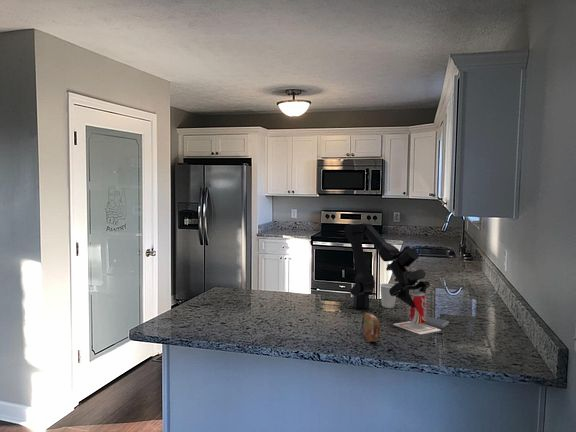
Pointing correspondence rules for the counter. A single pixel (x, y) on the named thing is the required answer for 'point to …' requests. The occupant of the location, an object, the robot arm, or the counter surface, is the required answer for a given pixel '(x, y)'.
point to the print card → (417, 327)
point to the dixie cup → (387, 296)
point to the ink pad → (436, 322)
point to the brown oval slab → (370, 327)
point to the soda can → (418, 308)
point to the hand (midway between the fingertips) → (420, 306)
